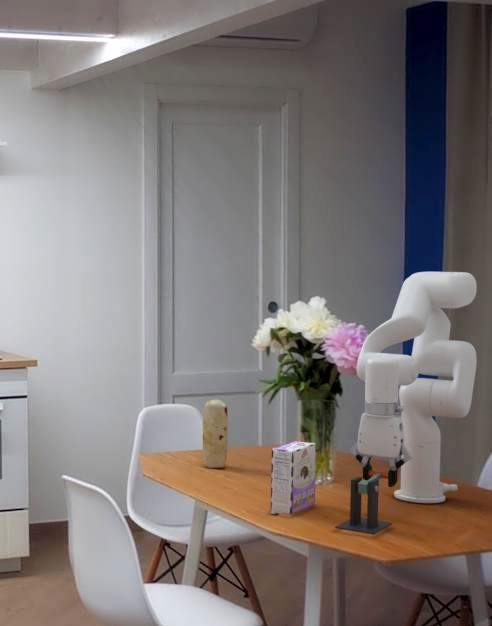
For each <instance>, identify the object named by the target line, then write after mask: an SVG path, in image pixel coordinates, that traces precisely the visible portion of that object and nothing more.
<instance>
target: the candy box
mask: <svg viewBox="0 0 492 626" xmlns="http://www.w3.org/2000/svg"><path fill="white" fill-rule="evenodd" d="M316 445H317V444H316V443H315V442H307V441H298V440H295V441H292V442H289V443H286V444H283V445H280V446H277V447H273V448H272V449H271V470H270V471H271V476H270V511H269V512H270V514H272V515H276V516H278V515H281V514H287V515H293V514H295V513H297V512H300V511H302V510H305V509H307V508H309V507H312V506H314V505H315V504H316V461H317V459H316V458H317V457H316V455H317V453H316V452H317V451H316V450H317V447H316Z"/></svg>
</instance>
